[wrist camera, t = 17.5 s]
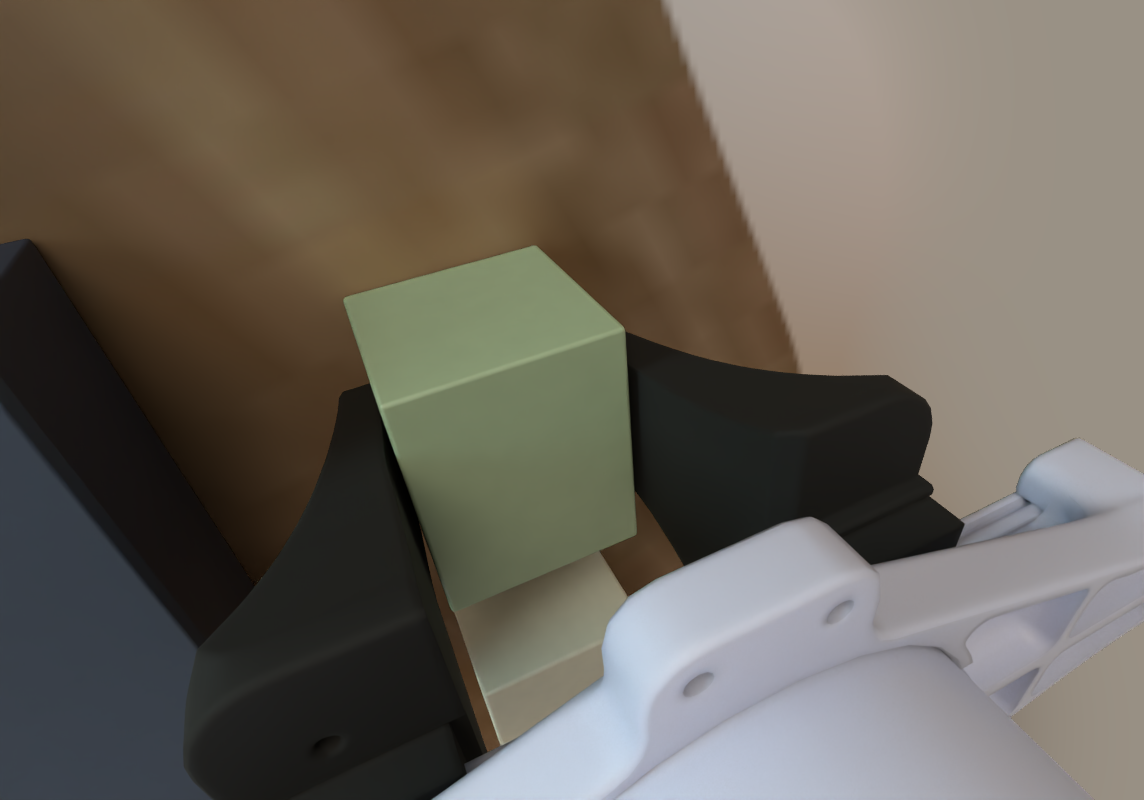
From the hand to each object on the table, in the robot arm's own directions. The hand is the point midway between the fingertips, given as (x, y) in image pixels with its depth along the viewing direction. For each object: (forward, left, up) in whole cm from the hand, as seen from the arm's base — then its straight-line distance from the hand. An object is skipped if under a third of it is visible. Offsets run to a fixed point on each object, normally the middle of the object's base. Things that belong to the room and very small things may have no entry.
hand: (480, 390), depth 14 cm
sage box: (0, 0, -1) cm, 1 cm away
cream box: (-8, 0, -1) cm, 8 cm away
